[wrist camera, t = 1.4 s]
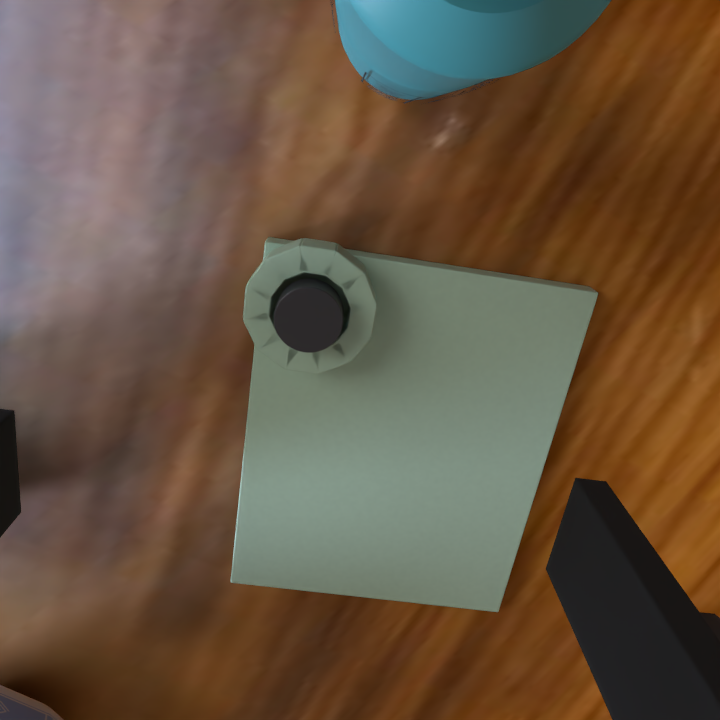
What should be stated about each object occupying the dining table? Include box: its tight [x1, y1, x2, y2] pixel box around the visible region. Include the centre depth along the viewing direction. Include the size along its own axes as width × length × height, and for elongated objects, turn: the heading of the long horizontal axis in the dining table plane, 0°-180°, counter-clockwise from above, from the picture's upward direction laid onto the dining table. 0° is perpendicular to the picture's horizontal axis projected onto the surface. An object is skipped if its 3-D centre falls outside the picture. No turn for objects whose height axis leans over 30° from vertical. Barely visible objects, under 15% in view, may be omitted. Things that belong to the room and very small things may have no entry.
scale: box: [231, 237, 598, 612], centre depth 32 cm, size 20×16×3 cm
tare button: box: [274, 278, 343, 353], centre depth 27 cm, size 3×3×2 cm
